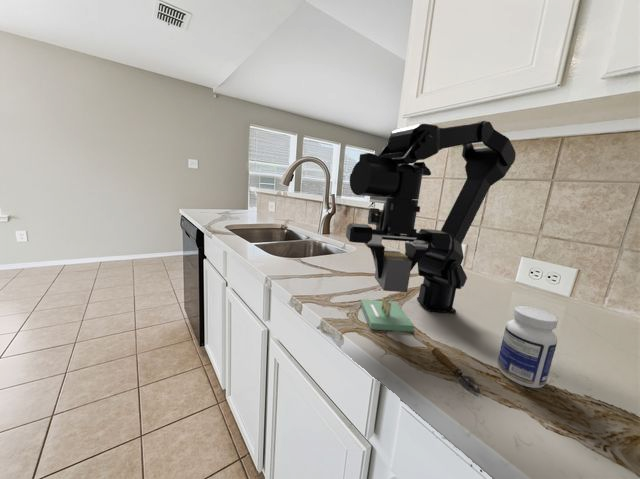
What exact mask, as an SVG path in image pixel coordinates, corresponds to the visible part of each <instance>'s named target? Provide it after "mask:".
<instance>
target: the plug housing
mask: <svg viewBox="0 0 640 479" xmlns="http://www.w3.org/2000/svg"><path fill="white" fill-rule="evenodd" d="M411 265H412V261H411V260H410V259H409V258H408V256H406V255H405V253H401V251H397V250H396V251H395V250H394V251H393V250H384V259H383V268H382V274H381V278H380V279H379V278H378V277H377V273H376V270H375V273H374V279H375V281H376V282H377V283H378V285H379V286H380V287H381V290H382V291H383V292H384V291H385V292H397V293H398V292H400V293H408V289H409V282H410V276H411V272H410V271H412V270H411Z"/></svg>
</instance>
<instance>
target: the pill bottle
mask: <svg viewBox="0 0 640 479" xmlns="http://www.w3.org/2000/svg"><path fill="white" fill-rule="evenodd" d="M512 315H513V317H514V318H512V319H510V320H509V321H507V323H506V324H505V329H504V333H503V337H502V341H501V344H500V351H499V354H498V358H497V361H496V362H497V363H496V365H497V368H498V370H499V371H500V373H502V375H503V376H504V377H506V378H508V379H509V380H510V381H512V382H514V383H516V384H518V385H521V386H524V387H527V388H532V389H540V388H543V387H544V386H545V385H546V383H547V381H548V376H549V373H550V370H551V366H552V363H553V360H554V359H553V358H554V355H555V353H556V348H557V344H558V337H557V335H556V334H555V332H554V330H556V329H557V326H558V322H559V319H558V317H557V316H555V315H554V314H552V313H550V312H548V311H545V310H542V309H539V308H535V307H531V306H526V305H519V306H515V308H514V309H513V314H512Z"/></svg>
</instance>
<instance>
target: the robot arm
mask: <svg viewBox="0 0 640 479" xmlns="http://www.w3.org/2000/svg"><path fill="white" fill-rule="evenodd" d="M477 143H478V144H479V143H482V144H483V145H481V146H476V147H475V146H474V145H473V144H477ZM459 146H462V147H463V148H462V152H461V157H462V159H463V160H464V161H465V162H466V163H465V166H464V169H465V175H466V179H465V182H464V183H463V185H462V187H461V190H460V191H459V194H458V196H457V198H456V199H455V202H454V204H453V205H452V207H451V209H450V212H449V213H448V215H447V217H446V220H445V221H444V223H443V225H442V226H441V229H440V230H438V229H431V228H428V229H427V228H420V230H419V231H418V232H417V228H415V225H416V218H417V213H420V211H421V206H419V199H420V192H421V186H422V180H423V179H422V178H423V176H427V177H428V176H431V175H432V172H431V170H430V169H429V167H427V166H426V162H425V161H424V160H428V158H431V157H432V156H433V157H434V156H435V155H437V154H438V153H439V151H441V150H443V149H448V148H453V147H459ZM516 157H517V155H516V150H515V148H514V145H513V144H512V142H511V140H510V138H508V137H507V136H506V135H504V134H503V133H501V132H499V131H497V130H496V129H495V128H494V127H493V125H492V123H491V122H490V121H487V120H481V121H476V122H470V123H466V124H462V125H454V126H448V127H439V126H438V125H437V124H432V123H431V124H429V123H419V124H415V125H412V126H406V127H401V128H397V129H395V130H393V131H391V132H390V136H389V138H388V140H387V142H386V143H385V145H384V146H383V148H382V149H381V150H380V151H379V153H378V154H375V153H370V152H363V153H360V154H359V161H358V162H357V163H355V165H354V166H353V168H352V171H351V173H350V175H349V187H350V189H351V192H352V193H353V195H356V196H361V197H362V196H363V197H373V198H374V197H375V198H376V197H377V198H386V199H385V202H384V203H383V208H382V211H380V209H379V208H373V207H370V208H369V209H368V215H367V224H365V223H354V222H352V223H351V222H350V223H349V224H347V226H346V233H345V237H346V239H347V240H348V242H351V243H356V244H358V243H359V244H364V245H365V246H366V247H367V248H368V249H369V250H370V252H371V256H372V258H373V262H374V267H375V271H376V273H377V277H378V278H379V279H380V278H381V274H382V268H383V259H384V250H385V249H386V248H385V246H384V245H383V244H382V242H383V240H386V241H397V242H398V241H399V242H405V243H404V247H405V248H404V249H405V252H404V254H405V255H406V256H408V258H409V259H410V260H411V261H412V265H411V271H412V270H413V269H414V267H415V266H416V265H417V272H418V276H420V277H423V282H422V283H421V284H420V288H419V293H418V296H417V298H416V300H417V301H418V302H419V303H420V304H421V305H422V306H423V307H424V308H425V309H426V310H427V311H428V312H437V313H453V314H456V313H457V309H455V308H454V307H453V306H454V301H455V297H456V291H457V290H461V289H462V287H464V286H465V284H466V282H467V280H468V276H467V274H466V273H465V270H464V268H463V266H462V263H463V261H464V257H465V256H464V252H463V247H462V244H463V242H464V240H465V238H466V235H467V234H468V231H469V229H470V227H471V225H472V224H473V221H474V220H475V218H476V216H477V213H478V211H479V210H480V208H481V206H482V203H484V202H483V201H484V199H485V198H486V196H487V194H488V192H489V190H490V188H491V186H493V185H495V184H496V183H497V182H499V181H500V180H501V179H503V178H504V177H505V176H506V175H507V173H508V172H509V170H510V168H511V167H512V166H513V165H514V163H515V161H516ZM417 161H419V162H417ZM370 225H375V228H373V227H371V226H370ZM385 251H386V250H385ZM411 271H410V273H411Z"/></svg>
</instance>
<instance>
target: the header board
mask: <svg viewBox="0 0 640 479" xmlns="http://www.w3.org/2000/svg"><path fill="white" fill-rule="evenodd" d="M387 297H388V296H386V295H383V296H382V299H381V300H374V299H373V300H370V299H360V308H361V309H362V312H363V313H364V314H363V315H364V316H365V319H366V321H367V323H368V326H369V329H370V330H379V331H380V330H381V331H391V332H392V331H394V332H410V333H411V332H412V333H414V331H415V325H414V323H413V322H412V320H411V319H410V318H409V317H408V316H407V314H406V312H405V311H404V310H403V309H402V307H401V306H400V304H399V303H398V302H397V301H390V299H389V298H388V299H387Z"/></svg>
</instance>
